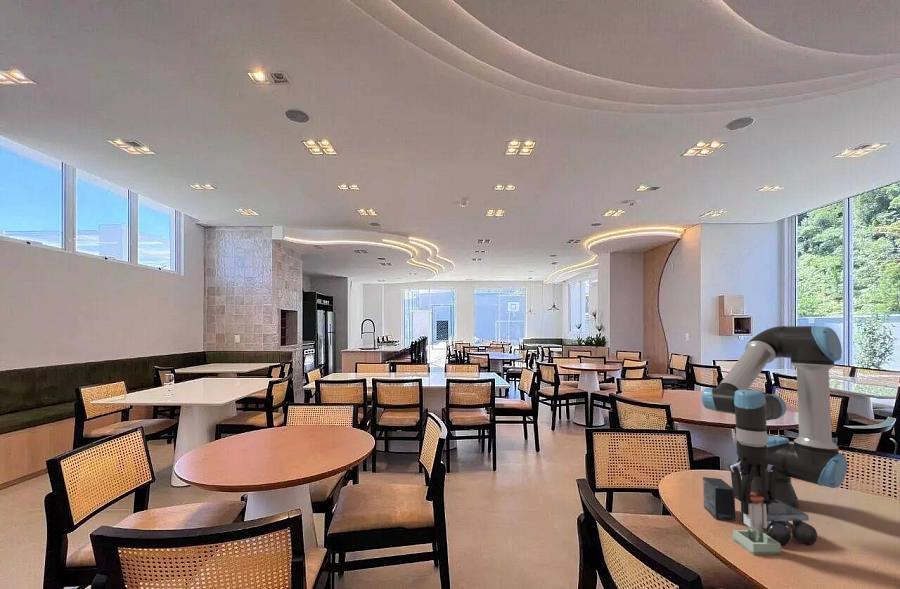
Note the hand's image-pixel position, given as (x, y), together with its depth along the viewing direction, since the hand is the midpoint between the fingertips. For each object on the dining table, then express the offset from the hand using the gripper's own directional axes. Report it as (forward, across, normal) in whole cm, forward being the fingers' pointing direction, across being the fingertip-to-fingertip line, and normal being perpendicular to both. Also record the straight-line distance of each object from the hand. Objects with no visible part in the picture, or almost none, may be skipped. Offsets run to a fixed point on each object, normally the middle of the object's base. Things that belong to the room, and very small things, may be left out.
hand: (755, 524), depth 121 cm
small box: (+7, -4, -22) cm, 23 cm away
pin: (+6, 0, 0) cm, 6 cm away
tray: (+6, 0, 0) cm, 6 cm away
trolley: (+6, -12, -7) cm, 15 cm away
